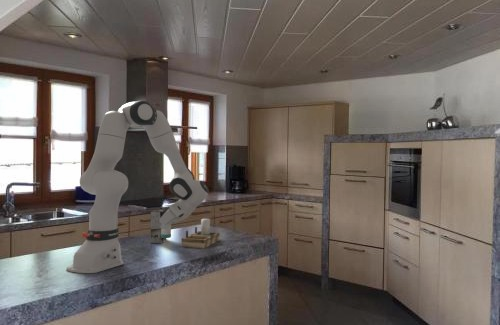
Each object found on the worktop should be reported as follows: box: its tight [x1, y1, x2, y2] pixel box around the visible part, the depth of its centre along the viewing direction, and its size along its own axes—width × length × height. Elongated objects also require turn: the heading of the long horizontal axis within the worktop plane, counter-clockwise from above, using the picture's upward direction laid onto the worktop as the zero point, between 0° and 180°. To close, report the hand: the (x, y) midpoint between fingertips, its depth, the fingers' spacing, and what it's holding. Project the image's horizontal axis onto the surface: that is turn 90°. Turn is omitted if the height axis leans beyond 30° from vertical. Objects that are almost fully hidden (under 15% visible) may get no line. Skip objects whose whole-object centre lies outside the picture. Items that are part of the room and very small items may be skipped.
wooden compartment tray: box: [181, 226, 221, 250], centre depth 204 cm, size 20×12×7 cm, turn 162°
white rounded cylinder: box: [161, 224, 172, 239], centre depth 196 cm, size 5×5×9 cm
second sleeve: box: [200, 218, 211, 235], centre depth 208 cm, size 5×5×9 cm
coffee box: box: [150, 209, 167, 244], centre depth 208 cm, size 9×6×16 cm
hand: (165, 227), depth 196 cm, fingers closed on white rounded cylinder, 5 cm apart
